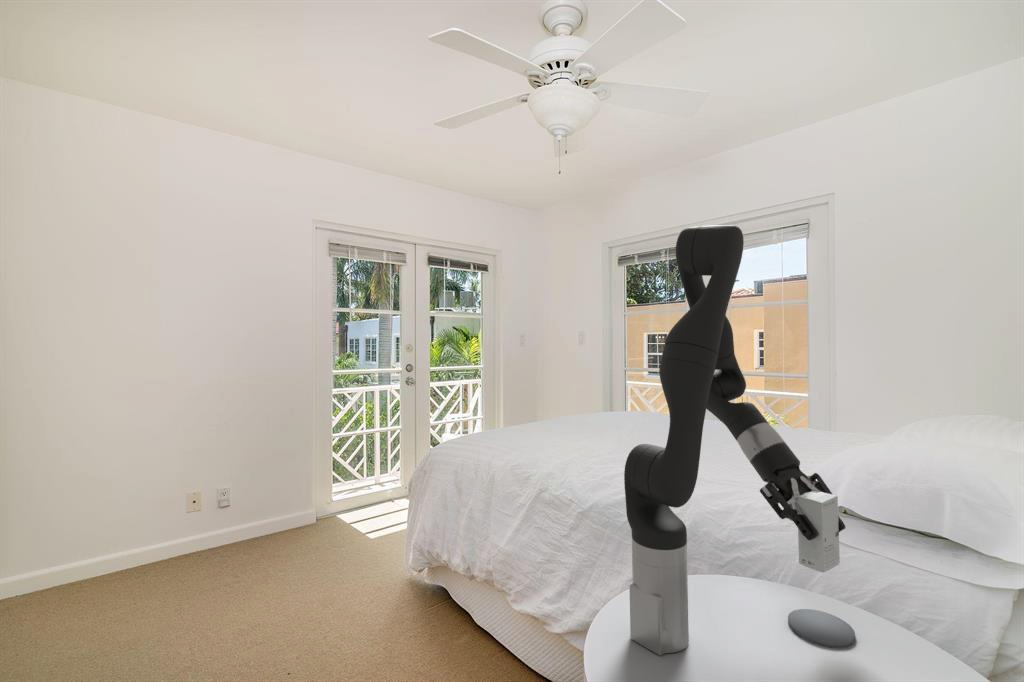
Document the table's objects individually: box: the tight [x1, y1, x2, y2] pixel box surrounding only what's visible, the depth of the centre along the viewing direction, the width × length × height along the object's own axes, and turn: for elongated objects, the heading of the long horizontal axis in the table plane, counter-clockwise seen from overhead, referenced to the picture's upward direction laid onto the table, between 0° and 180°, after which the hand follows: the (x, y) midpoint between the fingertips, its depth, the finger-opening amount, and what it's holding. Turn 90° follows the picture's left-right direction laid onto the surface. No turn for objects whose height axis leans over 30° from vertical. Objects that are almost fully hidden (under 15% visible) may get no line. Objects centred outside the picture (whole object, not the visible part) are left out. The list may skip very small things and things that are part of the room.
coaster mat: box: [787, 608, 856, 649], centre depth 86 cm, size 10×10×1 cm
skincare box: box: [797, 491, 841, 573], centre depth 86 cm, size 6×4×12 cm
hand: (827, 534), depth 84 cm, fingers closed on skincare box, 6 cm apart
